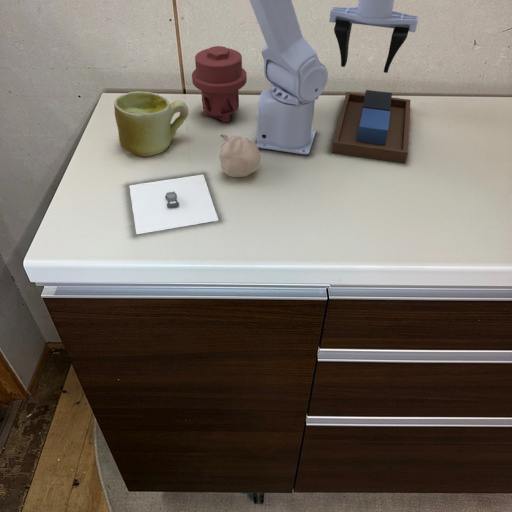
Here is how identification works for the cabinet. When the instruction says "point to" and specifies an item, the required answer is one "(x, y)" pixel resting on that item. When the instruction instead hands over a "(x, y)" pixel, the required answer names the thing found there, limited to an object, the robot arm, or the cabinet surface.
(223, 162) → the garlic bulb
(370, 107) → the charcoal block
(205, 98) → the mechanical component
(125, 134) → the mug
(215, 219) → the white paper sheet
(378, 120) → the blue block
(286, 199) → the cabinet surface
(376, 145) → the tray
